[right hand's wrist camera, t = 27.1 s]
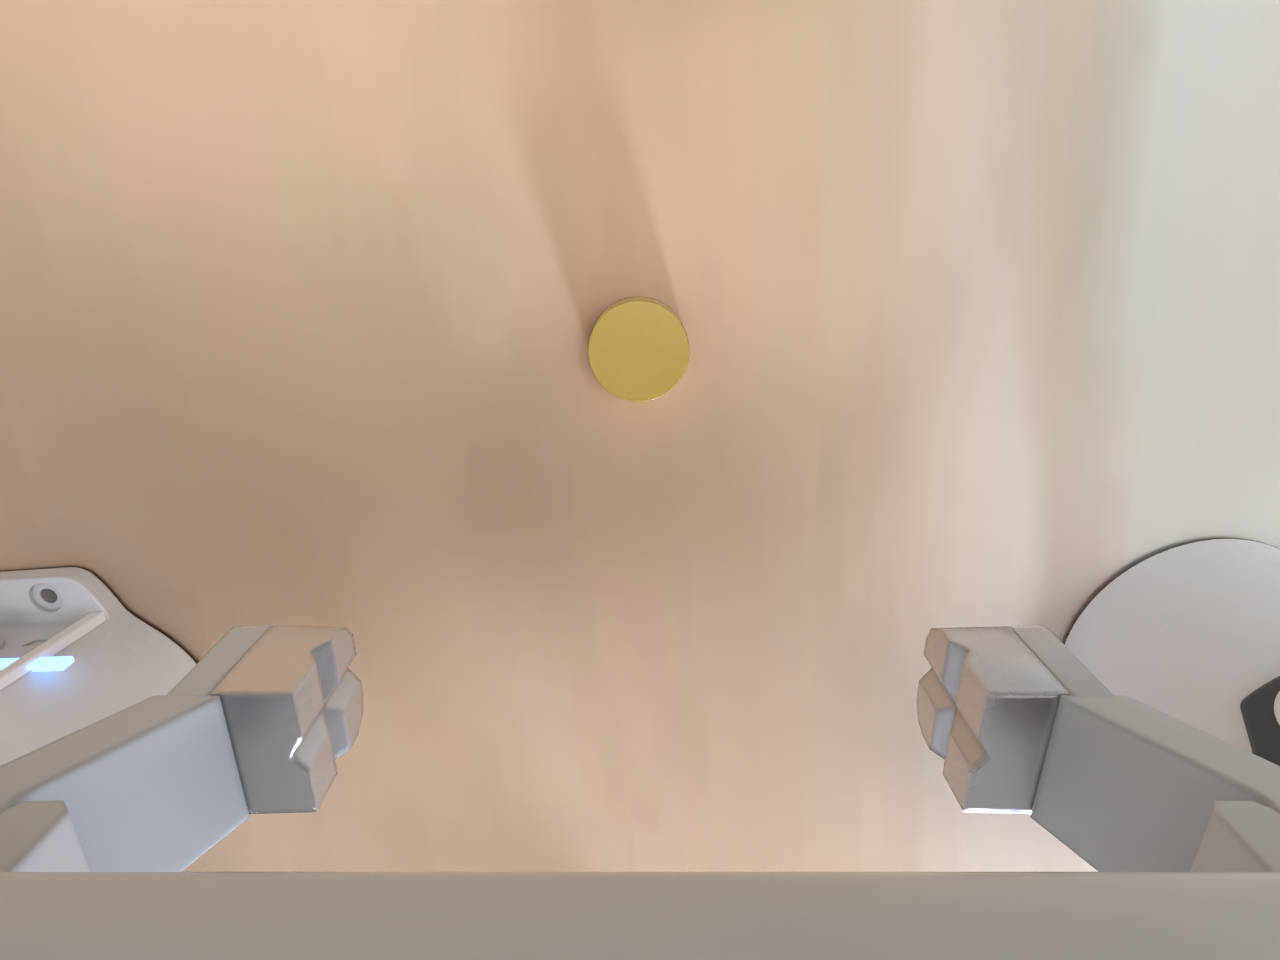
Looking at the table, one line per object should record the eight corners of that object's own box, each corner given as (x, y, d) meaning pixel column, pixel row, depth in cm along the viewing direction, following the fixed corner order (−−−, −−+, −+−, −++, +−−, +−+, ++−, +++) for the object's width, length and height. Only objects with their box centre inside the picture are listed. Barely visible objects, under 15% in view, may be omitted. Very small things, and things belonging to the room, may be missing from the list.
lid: (570, 352, 35) (567, 359, 33) (631, 275, 33) (631, 278, 32) (645, 412, 36) (645, 421, 34) (706, 339, 34) (710, 345, 33)
